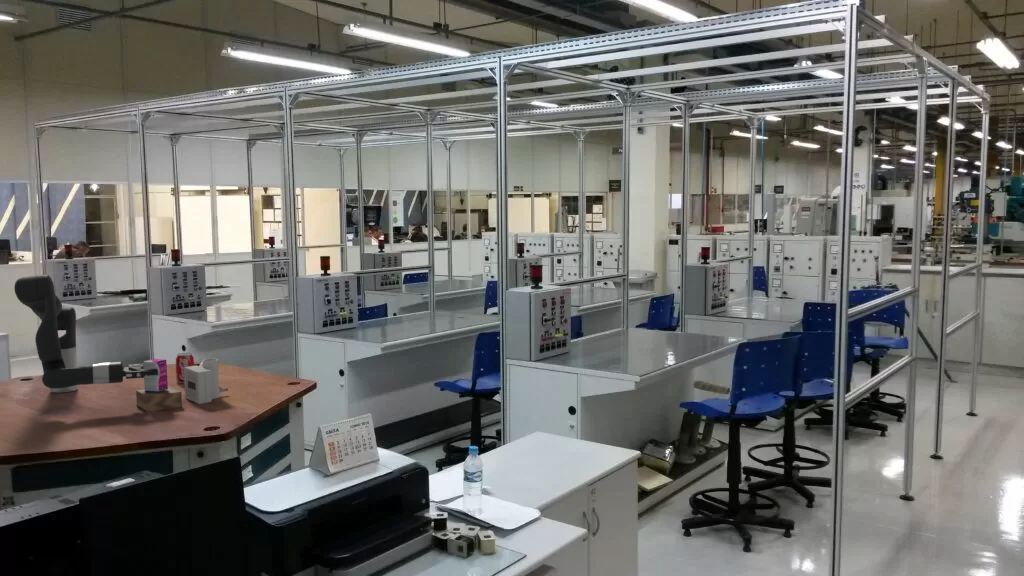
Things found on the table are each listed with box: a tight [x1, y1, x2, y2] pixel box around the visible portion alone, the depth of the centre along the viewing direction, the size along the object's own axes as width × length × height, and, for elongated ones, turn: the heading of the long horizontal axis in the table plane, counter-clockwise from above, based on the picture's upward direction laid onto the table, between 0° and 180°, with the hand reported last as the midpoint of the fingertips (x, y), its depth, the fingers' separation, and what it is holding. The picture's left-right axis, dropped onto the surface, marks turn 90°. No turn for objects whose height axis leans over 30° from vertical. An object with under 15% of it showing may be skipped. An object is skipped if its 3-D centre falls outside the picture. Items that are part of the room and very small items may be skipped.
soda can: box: [175, 352, 195, 384], centre depth 315 cm, size 7×7×12 cm
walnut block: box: [135, 385, 183, 413], centre depth 278 cm, size 12×12×6 cm
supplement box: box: [142, 358, 169, 393], centre depth 277 cm, size 6×6×12 cm
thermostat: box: [184, 357, 229, 405], centre depth 290 cm, size 12×14×15 cm
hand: (157, 369), depth 277 cm, fingers open, 8 cm apart
